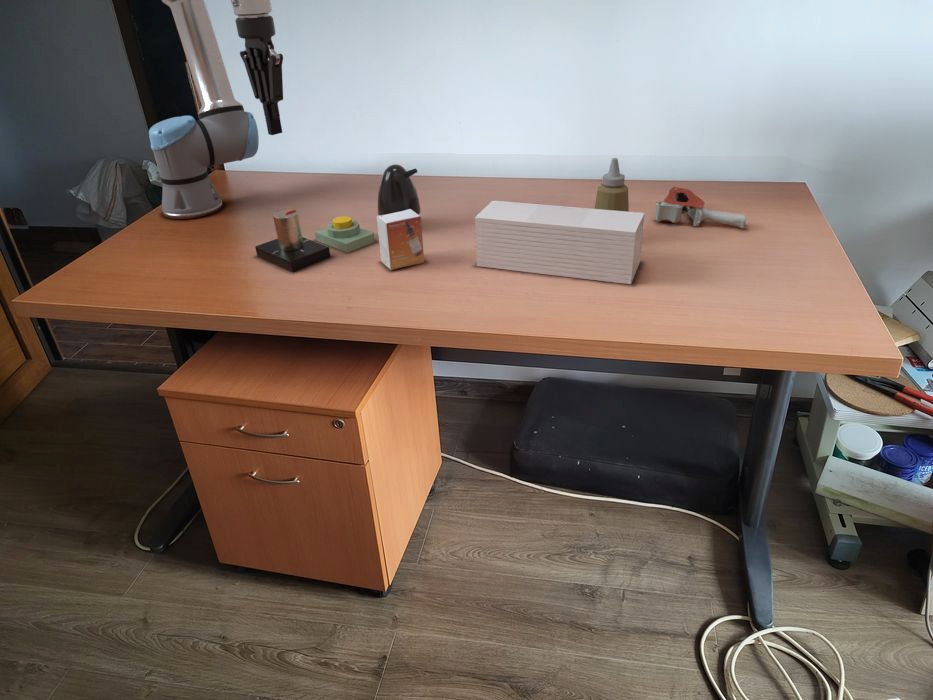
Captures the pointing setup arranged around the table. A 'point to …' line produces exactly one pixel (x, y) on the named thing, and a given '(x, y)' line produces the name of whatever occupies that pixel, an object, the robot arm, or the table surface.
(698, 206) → the tape dispenser
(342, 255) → the table surface
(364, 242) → the button box
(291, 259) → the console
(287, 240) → the dial
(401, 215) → the small box
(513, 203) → the white ridged block
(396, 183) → the pump dispenser
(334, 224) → the button
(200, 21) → the robot arm
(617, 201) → the squeeze bottle
